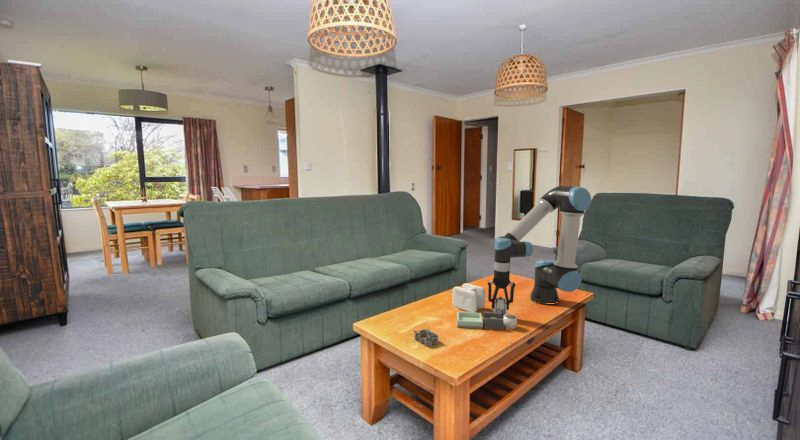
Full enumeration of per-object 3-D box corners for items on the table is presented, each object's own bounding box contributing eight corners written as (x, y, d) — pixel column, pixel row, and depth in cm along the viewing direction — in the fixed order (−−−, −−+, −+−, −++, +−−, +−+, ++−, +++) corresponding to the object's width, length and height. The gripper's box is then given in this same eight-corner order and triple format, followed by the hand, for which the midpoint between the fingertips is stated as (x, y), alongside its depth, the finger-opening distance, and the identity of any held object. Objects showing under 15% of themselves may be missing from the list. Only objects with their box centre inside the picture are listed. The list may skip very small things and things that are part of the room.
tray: (480, 318, 181) (480, 312, 180) (482, 328, 169) (482, 322, 169) (456, 317, 182) (457, 311, 182) (457, 326, 171) (457, 320, 171)
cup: (515, 324, 174) (515, 314, 173) (517, 330, 168) (518, 319, 167) (502, 323, 175) (502, 313, 174) (504, 329, 169) (504, 318, 168)
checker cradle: (500, 321, 177) (500, 311, 177) (503, 329, 168) (503, 319, 168) (483, 320, 178) (483, 310, 178) (485, 328, 169) (485, 318, 169)
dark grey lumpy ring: (411, 338, 160) (411, 329, 159) (425, 334, 164) (425, 325, 163) (426, 348, 151) (426, 338, 150) (440, 343, 155) (441, 334, 154)
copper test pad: (496, 318, 175) (496, 316, 174) (497, 322, 171) (497, 319, 171) (488, 318, 175) (489, 316, 175) (489, 321, 171) (489, 319, 171)
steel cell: (503, 315, 185) (504, 296, 184) (505, 318, 181) (506, 299, 180) (494, 314, 186) (495, 295, 185) (495, 318, 182) (496, 298, 180)
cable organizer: (486, 310, 192) (487, 288, 191) (474, 315, 185) (474, 292, 184) (463, 302, 203) (464, 282, 202) (451, 307, 196) (451, 286, 195)
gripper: (518, 268, 183) (516, 313, 186) (483, 267, 185) (481, 311, 188) (521, 272, 175) (519, 319, 179) (484, 271, 178) (482, 317, 181)
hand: (499, 315), depth 183 cm, fingers closed on steel cell, 4 cm apart
